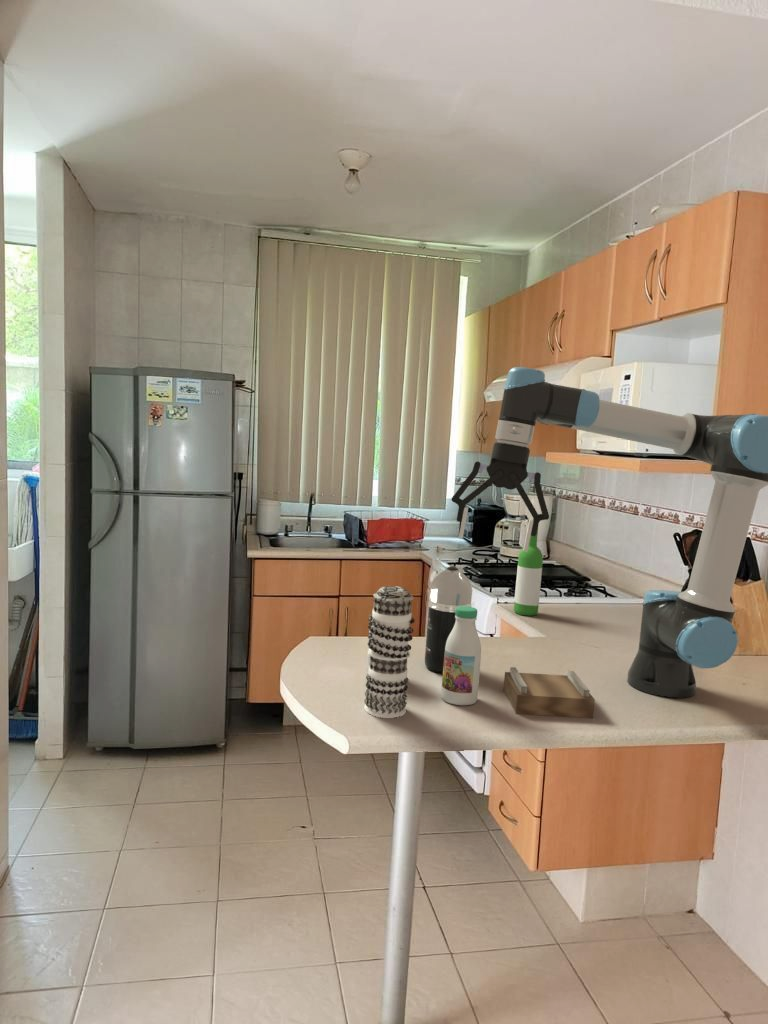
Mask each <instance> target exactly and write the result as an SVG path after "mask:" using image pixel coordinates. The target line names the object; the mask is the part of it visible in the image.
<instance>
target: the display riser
mask: <svg viewBox="0 0 768 1024" xmlns="http://www.w3.org/2000/svg"><path fill="white" fill-rule="evenodd" d="M590 690H591V689H589V688H588V686H587V685H586V684H585V683H584V681H583V680H582V679H581V677H579V675H578V674H577V673H576V672H575V671H574V670H568V671H567V674H566V675H563V674H545V673H532V672H530V673H527V672H519V671H518V669H517V667H515V666H514V667H513V666H510V668H509V671H504V678H503V691H504V693H505V694H506V695H505V696H506V697H507V699H508V701H509V703H510V705H511V707H512V709H513V711H514V713H515V714H517V715H518V714H519V715H534V716H535V715H537V716H553V717H571V718H587V719H593V718H594V712H595V711H594V709H595V701H596V699H595V698H594V697H593V695H591V694H592V693H590V692H591V691H590Z"/></svg>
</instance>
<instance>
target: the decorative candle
mask: <svg viewBox="0 0 768 1024" xmlns="http://www.w3.org/2000/svg"><path fill="white" fill-rule="evenodd" d="M372 596H373V598H374V599H373V607H372V612H371V613H370V614H369V615H368V619H367V621H368V622H369V623H368V625H367V628H368V636H367V638H368V640H369V639H370V640H369V642H368V641H367V647H368V646H369V648H370V649H369V651H368V650H367V652H368V654H369V655H370V665H369V670H368V674H367V676H365V679H366V682H365V687H366V689H365V691H364V696H365V698H364V700H363V701H364V712H365V713H367V714H368V713H369V714H368V715H370V714H371V715H370V716H372V715H373V716H372V717H375V716H376V718H380V717H381V718H382V719H394V718H393V717H397V718H400V717H403V716H404V715H405V714H406V712H407V711H406V710H407V709H406V707H407V705H408V704H407V703H408V702H407V701H406V700H408V699H407V698H408V694H407V691H408V688H409V686H408V685H407V684H408V682H409V678H408V665H407V664H408V659H409V658H410V656H411V652H410V651H411V649H412V646H411V645H410V644H409V642H411V641H412V640H413V639H414V638H413V635H411V634H412V633H414V628H413V627H411V626H410V625H412V624H414V623H415V621H416V619H415V618H414V617H412V615H413V614H412V601H413V600H414V598H415V597H414V596H413V595H411V593H410V591H409V589H407V588H406V587H405V588H404V587H401V586H397V585H386V586H381V587H379V589H378V590H377V591H376V592H375V593H373V594H372ZM371 626H373V627H371ZM369 630H370V631H371V632H369ZM371 644H372V645H371ZM399 716H400V717H399ZM381 718H380V719H381Z"/></svg>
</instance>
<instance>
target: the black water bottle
mask: <svg viewBox="0 0 768 1024" xmlns="http://www.w3.org/2000/svg"><path fill="white" fill-rule="evenodd" d="M428 596H429V598H428V604H427V606H428V612H427V614H428V616H427V623H426V624H427V626H426V638H425V651H424V652H425V653H424V665H425V666H426V668H427V669H429V670H431V672H436V673H439V674H443V666H444V655H445V647H446V642H447V639H448V637H449V635H450V633H451V631H452V629H453V627H454V625H455V622H456V618H455V610H456V607H459V606H469V607H472V598H473V587H472V583H471V581H470V580H469V578H468V577H467V576H466V575H465V574H464V573H463V572H462V571H461V570H460V569H459V568H458V567H457V566H455V565H449V566H448V567H447V568H445V569H444V570H441V572H439V573H438V574H436V576H435V577H434V578H433V580H432V581H431V582H430V587H429V595H428Z"/></svg>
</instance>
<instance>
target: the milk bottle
mask: <svg viewBox="0 0 768 1024" xmlns="http://www.w3.org/2000/svg"><path fill="white" fill-rule="evenodd" d="M477 617H478V609H477V608H475V607H474V606H471V607H469V606H459V607H456V610H455V618H456V622H455V625H454V627H453V629H452V631H451V633H450V635H449V637H448V639H447V642H446V647H445V655H444V666H443V673H442V679H441V680H442V681H441V694H440V696H441V699H442V700H443V701H444V702H446V703H448V704H450V705H454V706H471V705H473V704H476V703H477V701H478V696H479V687H480V686H479V685H480V671H481V663H482V662H481V660H482V644H481V640H480V636H479V633H478V631H477V625H476V621H477Z"/></svg>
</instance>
